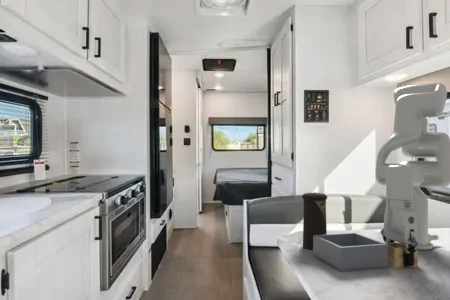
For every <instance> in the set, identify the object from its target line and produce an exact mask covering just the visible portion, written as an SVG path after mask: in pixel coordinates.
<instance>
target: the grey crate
mask: <svg viewBox="0 0 450 300" xmlns="http://www.w3.org/2000/svg"><path fill="white" fill-rule="evenodd" d="M312 252H313V253H312V254H313V255H312V256H313V257H314V258H316V259H317V260H319V261H321V262H323V263H324V264H326V265H328V266H329V267H332V268H333V269H334V270H336V271H338V272H340V273H346V272H355V271H356V272H357V271H366V270H377V269H387V268H389V265H388V244H385V242H382V241H379V240H376V239H375V238H371V237H369V236H365V235H362V234H360V233H357V232H346V233H345V232H344V233H329V234H326V235H313V250H312Z"/></svg>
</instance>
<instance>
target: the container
mask: <svg viewBox="0 0 450 300" xmlns="http://www.w3.org/2000/svg"><path fill="white" fill-rule="evenodd" d="M301 197H302V199H303V221H302V222H303V223H302V226H303V227H302V230H303V231H302V247H303V248H304V249H306V250H311V251H313V235H326V234H327V231H328V230H327V200H328V195H326V194H325V193H322V192H321V193H320V192H305V193H303V194H302V195H301Z"/></svg>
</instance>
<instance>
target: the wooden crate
mask: <svg viewBox="0 0 450 300" xmlns="http://www.w3.org/2000/svg"><path fill="white" fill-rule="evenodd" d="M384 243H385V242H384ZM385 244H388V267H392V268H394V269H404V268H413V267H418V266H419V250H418V249H417V250H416V253H414V266H407V267H406V266H404V253H406V252H405V249H404V246H403V243H399V242H397V243H385ZM409 247H410V245H408V248H409Z"/></svg>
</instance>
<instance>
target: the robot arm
mask: <svg viewBox="0 0 450 300" xmlns="http://www.w3.org/2000/svg"><path fill="white" fill-rule="evenodd" d="M447 97H448V91H447V88H446V86H445V84H444V83H441V82H434V83H424V84H413V85H405V86H401V87H398V88H396V89H395V90H394V92H393V100H394V104H395V108H394V119H393V120H394V121H393V130H392V131H393V132H392V136H390V137H389V138H388V139H387V140H386V141H385V142H384V143H383V144H382V146H381V147H380V148H379V151H378V152H377V156H376V162H375V163H376V164H375V180H376V182H377V183H378V184H379V185H380V186H384V187H385V195H386V196H385V202H386V204H385V211H384V215H383V217H384V218H383V228H382V229H381V230H380V234H381V236H382V239H383V241H384V242H383V243H397V242H399V243H403V246H404V249H405V252H406V253H404V266H406V267H405V268H408V267H407V266H414V253H416V250H417V249H418V251H427V250H432V249H433V248H434V244H433V243H432V241H437V240H439V236H438V234H430V233H429V200H428V197H427V195H426V194H425V192H424V191H423V190H422V189H421V188H437V189H438V188H439V189H440V188H443V189H444V188H447V187H449V186H450V136H449V134H448V133H446V132H442V131H433V132H432V131H431V132H430V131H429V132H428V119H427V118H430V117H435V118H436V117H440V116H441V114H442V113H443V112H444V109H445V105H446V102H447ZM398 149H401V151H402V154H403V155H404V157H406V158H412V159H413V158H415V159H435V160H434V161H433V160H407V161H406V160H405V161H402V162H400V163H387V160H388V158H389V156H391V154H392V153H393V152H395V151H397V150H398ZM408 245H410V247H409V248H408Z"/></svg>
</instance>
